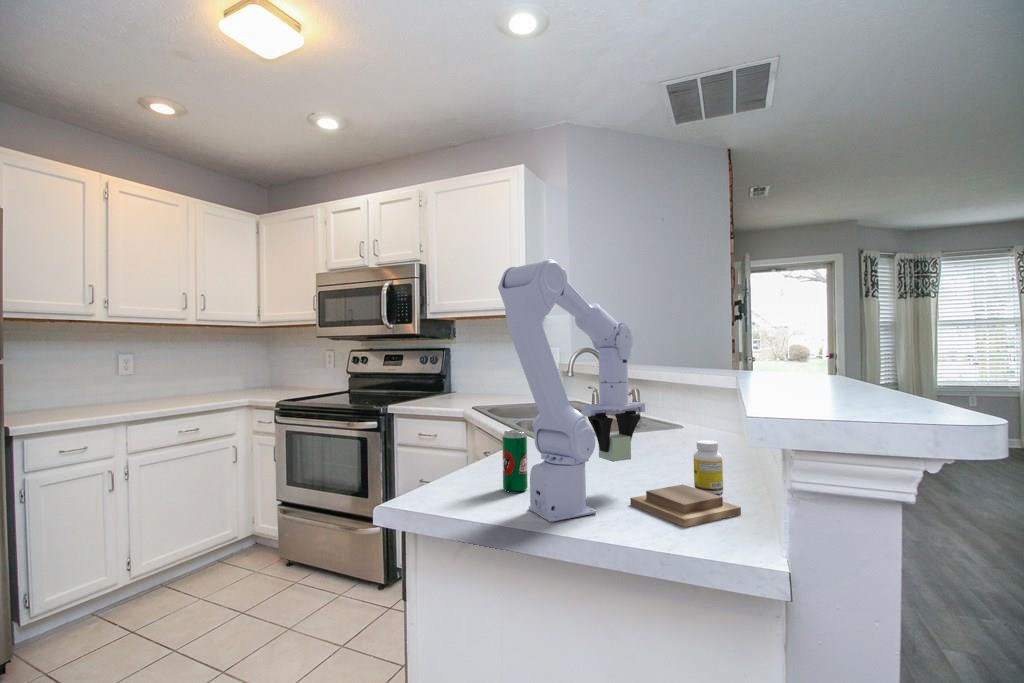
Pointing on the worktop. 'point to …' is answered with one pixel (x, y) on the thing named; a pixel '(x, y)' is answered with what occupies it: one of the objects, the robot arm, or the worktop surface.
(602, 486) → the worktop surface
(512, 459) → the soda can
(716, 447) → the supplement bottle
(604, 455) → the sage block
